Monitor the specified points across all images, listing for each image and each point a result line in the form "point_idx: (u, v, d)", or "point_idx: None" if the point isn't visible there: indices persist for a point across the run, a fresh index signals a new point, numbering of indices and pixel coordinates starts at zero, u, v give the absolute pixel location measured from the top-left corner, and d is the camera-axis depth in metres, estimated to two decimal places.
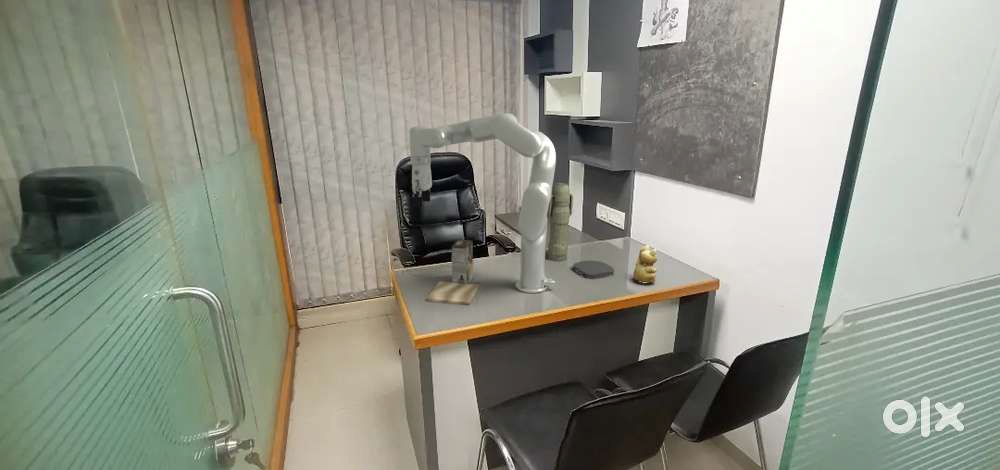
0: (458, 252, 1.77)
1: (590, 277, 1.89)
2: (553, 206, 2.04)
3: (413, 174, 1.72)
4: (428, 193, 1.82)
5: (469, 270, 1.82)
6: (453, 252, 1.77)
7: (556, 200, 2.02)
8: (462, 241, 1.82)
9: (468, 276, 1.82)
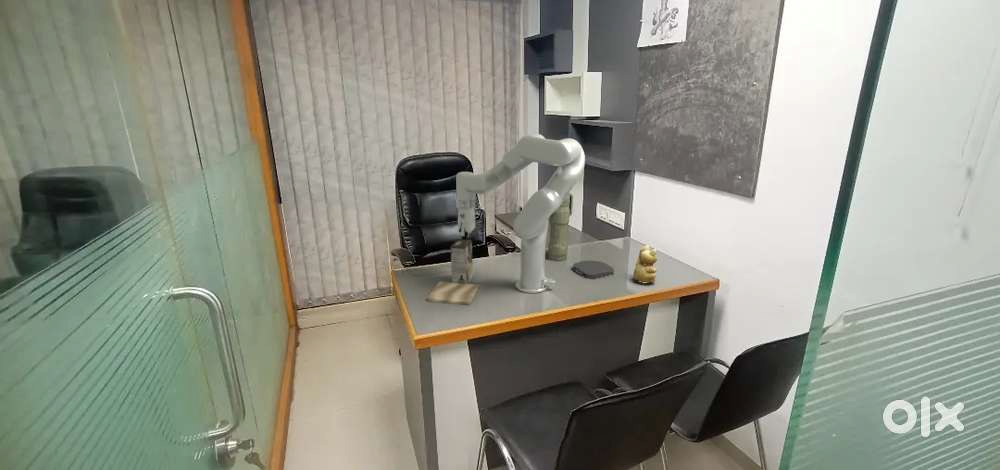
0: (457, 252, 1.77)
1: (590, 277, 1.89)
2: None
3: (459, 217, 1.79)
4: (468, 239, 1.87)
5: (469, 270, 1.82)
6: (452, 252, 1.77)
7: None
8: (461, 241, 1.82)
9: (468, 276, 1.81)
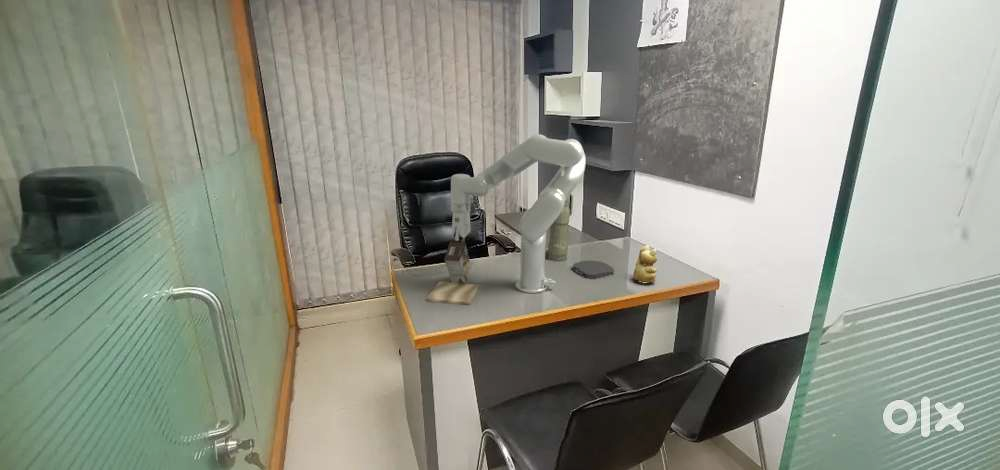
0: (452, 263, 1.71)
1: (590, 277, 1.89)
2: None
3: (453, 221, 1.73)
4: None
5: (467, 270, 1.79)
6: (447, 263, 1.72)
7: None
8: (454, 246, 1.74)
9: (466, 276, 1.80)
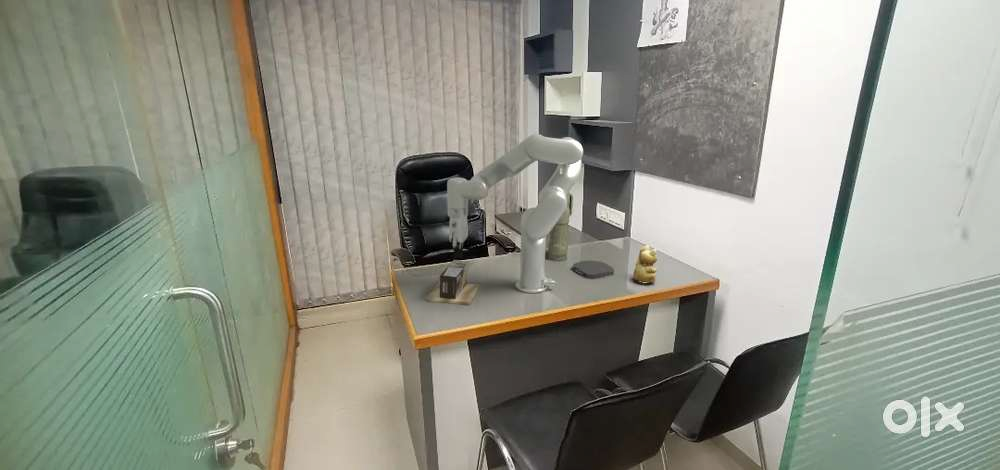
0: None
1: (590, 277, 1.89)
2: None
3: (451, 226, 1.68)
4: None
5: (464, 279, 1.75)
6: None
7: None
8: (446, 282, 1.65)
9: (465, 281, 1.78)
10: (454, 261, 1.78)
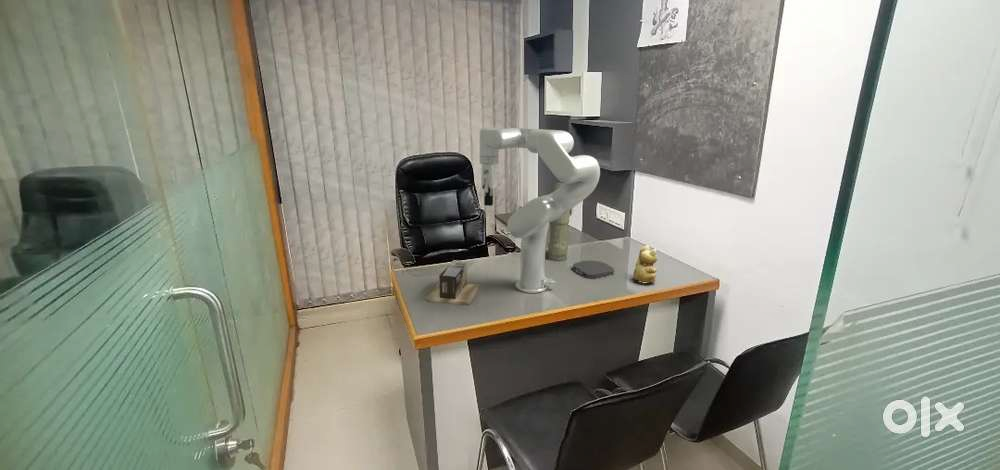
0: None
1: (590, 277, 1.89)
2: None
3: (483, 173, 1.78)
4: None
5: (464, 279, 1.75)
6: None
7: None
8: (445, 282, 1.65)
9: (465, 280, 1.78)
10: (453, 261, 1.78)
